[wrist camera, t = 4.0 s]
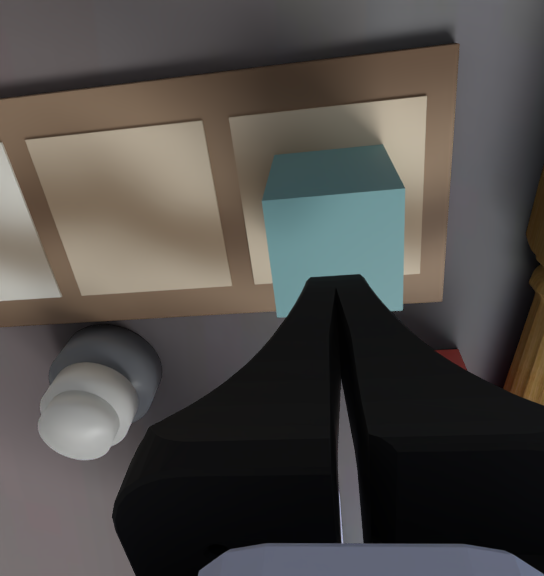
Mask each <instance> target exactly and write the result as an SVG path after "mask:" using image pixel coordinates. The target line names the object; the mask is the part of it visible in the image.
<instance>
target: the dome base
mask: <svg viewBox="0 0 544 576" xmlns="http://www.w3.org/2000/svg"><path fill="white" fill-rule="evenodd" d="M82 362H90V363H97V364H101V365H105V366H107V367H110V368H112V369H114V370H116V371H117V372H119V373H120V374H122V375H123V376H124V377H125V378H127V379H128V381H129V382H130V383H131V384H132V385H133V387H134V389H135V390H136V393H137V396H138V409H137V411H136V414H135V416H134V418H133V420H132V423H133V422H135V421H137V420H139V419H140V418H142V417H143V416H144V415H145V414H146V412H147V411H148V409H149V407H150V405H151V403H152V400H153V398H154V396H155V393H156V391H157V388H158V386H159V384H160V381H161V378H162V366H161V362H160V359H159V357H158V355H157V353H156V352H155V350H154V349H153V347H152V346H151V345H150V344H149V343H148V342H147V341H146V340H144V339H143V338H142V337H140V336H139V335H137V334H136V333H134V332H132V331H130V330H127V329H125V328H122V327H118V326H114V325H93V326H89V327H86V328H83V329H81V330H80V331H78V332H77V333H75V334H74V335H73V336H72V337H71V339H70V340H69V341H68V343H67V344H66V345H65V347H64V348H63V349H62V351H61V352H60V353H59V355H58V356H57V358H56V359H55V360H54V362H53V363H52V365H51V368H50V370H49V383H50V385H51V384H52V382H53V381H54V379H55V378H56V377H57V375H58V374H59V373H60V371H61V370H63V369H64V368H65V367H67V366H69V365H72V364H75V363H82Z"/></svg>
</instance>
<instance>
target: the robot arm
mask: <svg viewBox="0 0 544 576" xmlns="http://www.w3.org/2000/svg"><path fill="white" fill-rule="evenodd" d="M341 379H342V384H343V390H344V395H345V401H346V406H347V411H348V417H349V422H350V427H351V433H352V438H353V443H354V449H355V455H356V462H357V470H358V482H359V494H360V506H361V517H362V529H363V541H364V543H343V534H342V520H341V506H340V493H339V484H338V433H339V411H340V389H341ZM112 518H113V522H114V526H115V530H116V533H117V535H118V537H119V539H120V542H121V544H122V546H123V548H124V551H125V553H126V555H127V557H128V559H129V562H130V564H131V566H132V568H133V571H134V573H135V575H136V576H544V405H541V404H538V403H536V402H533V401H530V400H528V399H525V398H522V397H520V396H517V395H515V394H513V393H511V392H508V391H506V390H504V389H502V388H500V387H498V386H496V385H493V384H491V383H489V382H487V381H485V380H483V379H481V378H479V377H478V376H476V375H474V374H472V373H470V372H468V371H467V370H465V369H463V368H462V367H460V366H458V365H457V364H455V363H453V362H451V361H450V360H448V359H447V358H445V357H444V356H442V355H441V354H439V353H438V352H436V351H435V350H434V349H432V348H431V347H430V346H428V345H427V344H425V343H424V342H423V341H421V340H420V339H419V338H418V337H417V336H416V335H414V334H413V333H412V332H411V331H410V330H409V329H408V328H407V327H406V326H405V325H404V324H403V323H402V322H401V321H400V320H399V319H397V318H396V316H395V315H394V314H393V313H392V312H391V311H390V310H389V309H388V308H387V307H386V306H385V305H384V303H383V302H382V301H381V300H380V299H379V297H378V296H377V295H376V294H375V292H374V291H373V290H372V289H371V287H370V286H369V284H368V283H367V281H366V280H365V278H364V277H363V276H362V275H360V274H351V275H336V276H321V277H310V278H309V279H308V280H307V281H306V283H305V286H304V288H303V290H302V292H301V294H300V296H299V297H298V299H297V301H296V303H295V304H294V306H293V308H292V309H291V311H290V312H289V314H288V315H287V317H286V319H285V320H284V321H283V323H282V324H281V325H280V327H279V328H278V329H277V331H276V332H275V333H274V335H273V336H272V337H271V338H270V340H269V341H268V342H267V343H266V344H265V346H264V347H263V348H262V349H261V350H260V351H259V352H258V353H257V354H256V355H255V356H254V357H253V358H252V359H251V360H250V361H249V362H248V363H247V364H246V365H245V366H244V367H243V368H241V369H240V370H239V371H238V372H237V373H235V374H234V375H233V376H232V377H231V378H229V379H228V380H227V381H226V382H224V383H223V384H222V385H220V386H219V387H217V388H216V389H215V390H213V391H212V392H210V393H209V394H207V395H206V396H204V397H203V398H201V399H199V400H198V401H196V402H195V403H193V404H191V405H190V406H188V407H186V408H184V409H183V410H181V411H179V412H177V413H175V414H173V415H171V416H169V417H168V418H166V419H164V420H162V421H160V422H158V423H156V424H154V425H152V426H150V427H149V428H148V430H147V432H146V435H145V436H144V438H143V440H142V442H141V443H140V445H139V447H138V449H137V451H136V453H135V455H134V457H133V459H132V461H131V463H130V465H129V468H128V470H127V473H126V475H125V478H124V480H123V483H122V485H121V488H120V490H119V492H118V495H117V497H116V500H115V503H114V508H113V514H112Z"/></svg>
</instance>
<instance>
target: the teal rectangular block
mask: <svg viewBox="0 0 544 576" xmlns="http://www.w3.org/2000/svg"><path fill="white" fill-rule="evenodd" d="M262 207H263V215H264V222H265V229H266V237H267V244H268V252H269V259H270V267H271V274H272V282H273V289H274V297H275V304H276V312H277V318H279V317H287V315H288V314H289V312H290V311H291V309H292V308H293V306H294V304H295V303H296V301H297V299H298V297H299V296H300V294H301V292H302V290H303V288H304V286H305V283H306V281H307V280H308V279H309V278H310V277H321V276H336V275H351V274H360V275H362V276H363V277H364V278H365V280H366V281H367V283H368V284H369V286H370V287H371V289H372V290H373V291H374V292H375V294H376V295H377V296H378V297H379V299H380V300H381V301H382V302H383V303H384V305H385V306H386V307H387V308H388V309H389V310H390V311H403V276H404V227H405V187H404V185H403V183H402V181H401V179H400V177H399V175H398V173H397V171H396V169H395V167H394V165H393V163H392V161H391V159H390V157H389V155H388V153H387V151H386V149H385V147H384V145H383V144H380V145H370V146H360V147H350V148H340V149H330V150H320V151H309V152H299V153H289V154H279V155H274V158H273V162H272V165H271V169H270V172H269V176H268V180H267V183H266V187H265V191H264V194H263V198H262Z"/></svg>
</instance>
